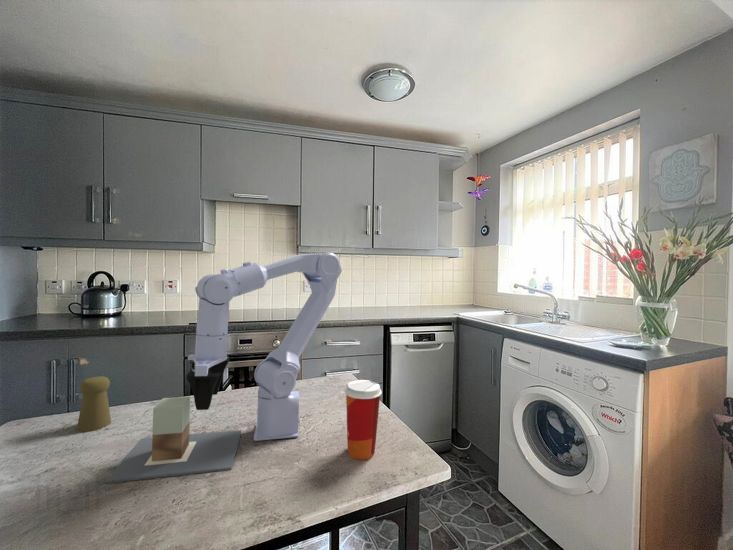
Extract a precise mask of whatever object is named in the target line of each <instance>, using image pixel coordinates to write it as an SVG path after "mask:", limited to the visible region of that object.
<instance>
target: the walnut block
mask: <svg viewBox="0 0 733 550" xmlns="http://www.w3.org/2000/svg"><path fill="white" fill-rule="evenodd" d="M190 424H191V420H190V421H189V423H188V424H187V426H186V427H185V429H184V430H183V432H182V433H172V434H159V435H152V437H151V438H152V461H162V460H172V459H181V458H182V456H183V455H184V453H185V451H186V449H187V447H188V446H189V434H190V427H191V426H190Z"/></svg>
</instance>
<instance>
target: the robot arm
mask: <svg viewBox="0 0 733 550" xmlns="http://www.w3.org/2000/svg"><path fill="white" fill-rule="evenodd" d="M293 273H302V275H303V276H304V278H305V280H306V281H307V283H308V285H309V287H310V290H311V291H310V292H311V293H310V295H309V297H308V298H307V300H306V301H305V303H304V304H303V306H302V308H301V310H300V311H299V313H298V314H297V316H296V318H295V319H294V321H293V322H292V325H291V326H290V327H289V329H288V331H287V332H286V334H285V336H284V337H283V339H282V340H281V342H280V344H279V346H278V347H277V348H276V349H274V350H272V351H270V352H269V353H268V354H267V356H266V358H265V359H264V360H262V361H261V362H260V363H258V365H257V366H256V368H255V369H254V373H253V377H254V380H255V382H256V384H258V390H257V412H256V413H257V414H256V415H257V416H256V417H257V418H256V424H255V427H254V428H255V429H254V433H253V438H252V439H253V440H252V441H254V442H257V441H268V440H270V441H271V440H279V439H280V440H282V439H289V438H290V439H291V438H298V437H299V424H300V421H301V419H300V413H299V412H300V391H298V390H297V391H296V390H294V388H295V386H296V384H297V377H298V374H299V373H300V370H301V364H300V357H301V355H302V353H303V352H304V350H305V348H306V346H307V345H308V343H309V341H310V339H311V337H312V336H313V334H314V332H316V329H317V327H318V325H319V324H320V322H321V320H322V319H323V317H324V316H325V313H326V311H327V310H328V308H329V306H330V304H332V301H333V300H334V298H335V295H336V291H337V290H336V289H337V285H338V284H337V283H338V279H339V277H340V275H341V274H342V266H341V263H340V259H339V256H337V255H336V254H335V253H333V252H330V251H329V252H322V253H321V252H320V253H314V252H308V253H305V254H304V253H302V254H296V255H293V256H290V257H287V258H284V259H281V260H278V261H274V262H272V263H269V264H266V265H260V264H259V263H257V262H251V261H245V262H243V263H242V266H239V267H235V268H232V269H227V268H224V269H220V273H218V274H214V273H211V274H206V275H204V276H203V277H202V278H200V279H199V280H198V282H197V285H196V286H195V288H194V291H195V294H196V295H197V297H198V298H199V299H198V310H197V313H196V314H197V317H196V331H195V344H194V345H195V347H194V353H191V354H189V355H188V356H187V360H188V361H193V362H194V366H195V367H194V371H189V372H188V373H186V380H187V382H188V383H189V386H190V388H191V390H192V395H193V400H194V405H195V409H196V411H208V410H209V409H210V406H211V404H212V399H213V396H215V395H216V396H217V395H218V392H219V390H220V388H221V387H220V386H221V383H222V378H223V376H224V372H225V370H226V367H227V365H228V364H229V362H230V358H228V354H227V347H228V346H227V345H228V334H229V333H228V331H229V318H230V316H229V315H230V310H229V309H230V302H231V301H232V300H233V298H236V297H239V296H242V295H244V294H248V293H251V292H253V291H256V290H259V289H263V288H264V287H265V285H266V284H267V281H268V280H272V279H275V278H276V279H277V278H279V277H282V276H285V275H289V274H293Z"/></svg>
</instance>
